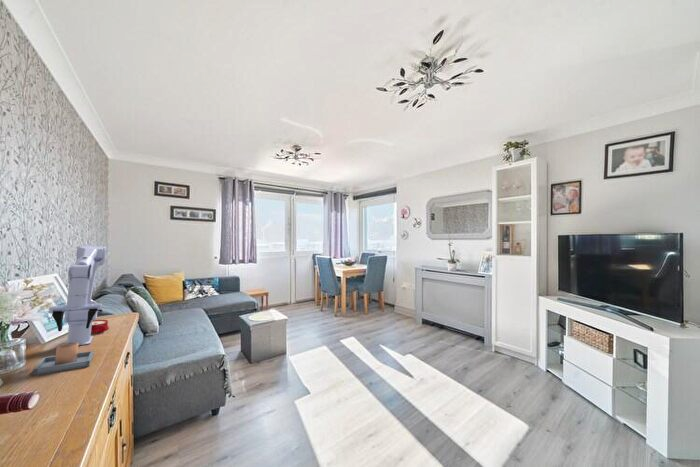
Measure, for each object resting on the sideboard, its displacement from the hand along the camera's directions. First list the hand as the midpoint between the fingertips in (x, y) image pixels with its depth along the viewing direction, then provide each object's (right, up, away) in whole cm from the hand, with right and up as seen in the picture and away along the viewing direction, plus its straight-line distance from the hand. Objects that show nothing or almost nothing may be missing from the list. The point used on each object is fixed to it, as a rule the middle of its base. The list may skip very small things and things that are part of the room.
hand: (74, 329), depth 105 cm
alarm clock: (-17, -11, +26) cm, 33 cm away
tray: (+5, -10, -7) cm, 14 cm away
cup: (+5, -10, -7) cm, 13 cm away
